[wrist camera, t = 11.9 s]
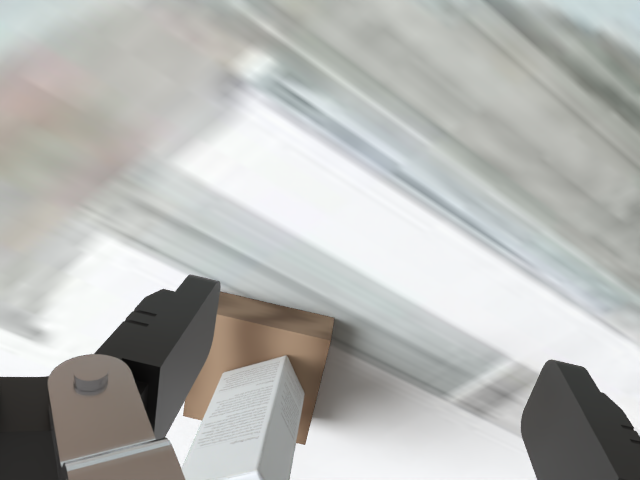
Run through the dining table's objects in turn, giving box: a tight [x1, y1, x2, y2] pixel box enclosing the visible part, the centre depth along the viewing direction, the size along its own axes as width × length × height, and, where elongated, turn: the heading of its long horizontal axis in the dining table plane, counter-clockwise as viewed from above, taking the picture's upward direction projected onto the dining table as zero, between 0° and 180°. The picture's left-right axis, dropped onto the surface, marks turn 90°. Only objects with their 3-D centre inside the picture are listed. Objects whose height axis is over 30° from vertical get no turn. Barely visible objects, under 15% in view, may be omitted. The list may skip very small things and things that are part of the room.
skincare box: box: [181, 355, 305, 480], centre depth 37 cm, size 6×4×12 cm
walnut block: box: [183, 292, 334, 445], centre depth 45 cm, size 11×11×4 cm
